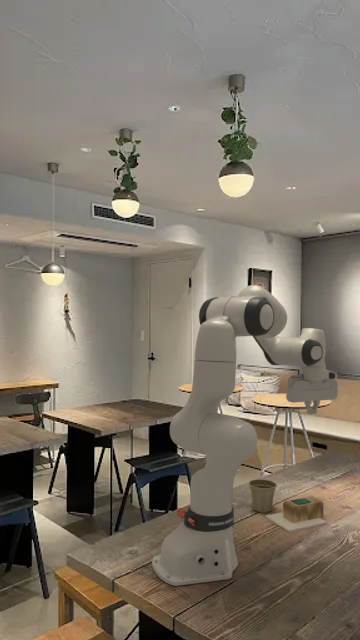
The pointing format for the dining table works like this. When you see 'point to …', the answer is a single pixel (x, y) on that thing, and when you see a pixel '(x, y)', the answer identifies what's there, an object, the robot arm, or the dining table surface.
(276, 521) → the white board
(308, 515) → the oak block
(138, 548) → the dining table surface
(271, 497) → the flower pot
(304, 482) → the dining table surface
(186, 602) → the dining table surface
